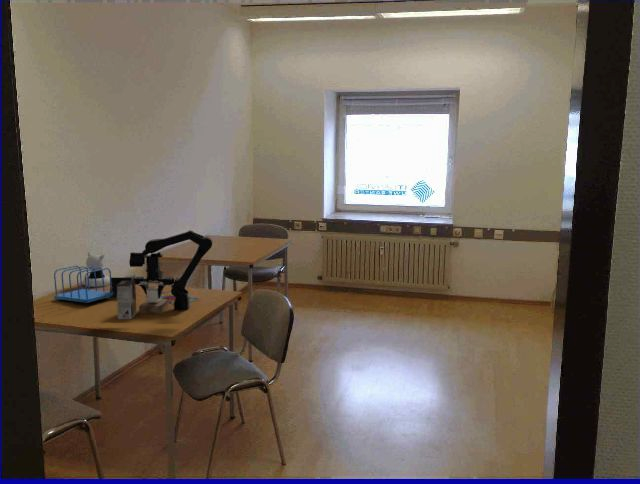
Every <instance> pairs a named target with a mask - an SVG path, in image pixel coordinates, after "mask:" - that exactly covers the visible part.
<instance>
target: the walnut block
mask: <svg viewBox="0 0 640 484" xmlns="http://www.w3.org/2000/svg"><path fill="white" fill-rule="evenodd" d="M168 307H169V303H168V299H161V300H160V301H159V302H147V299H146V300H145V301H144V302H142V303H141V304H139V305H138V310H139V311H138V312H139V313H138V314H162V313H163V312H164V311H165V310H166V309H167V308H168Z"/></svg>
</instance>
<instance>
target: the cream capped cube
mask: <svg viewBox="0 0 640 484" xmlns="http://www.w3.org/2000/svg"><path fill="white" fill-rule="evenodd" d="M146 290H147V298H146V300H147V302H159V301H160V300H161V297H160V299H159V297H158V285H157V286H155V285H154V286H151V285H149V286H148V288H147V289H146Z"/></svg>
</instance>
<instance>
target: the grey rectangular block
mask: <svg viewBox="0 0 640 484" xmlns="http://www.w3.org/2000/svg"><path fill="white" fill-rule="evenodd" d="M122 280H130V281H132V278H123V277H111V281H112V293H114V294H113V295H112V296H110V297H109V298H110V299H117V284H118V283H119V282H121V281H122ZM109 292H110V293H111V285H110V284H109Z"/></svg>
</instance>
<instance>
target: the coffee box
mask: <svg viewBox="0 0 640 484" xmlns="http://www.w3.org/2000/svg"><path fill="white" fill-rule="evenodd" d="M136 290H137V289H136ZM136 290H135V281H130V280H122V281H121V282H119V283H118V284H117V298H116V302H117V305H116V306H117V319H118V320H133V318H134V317H135V316H136V315H137V294H136Z"/></svg>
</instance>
